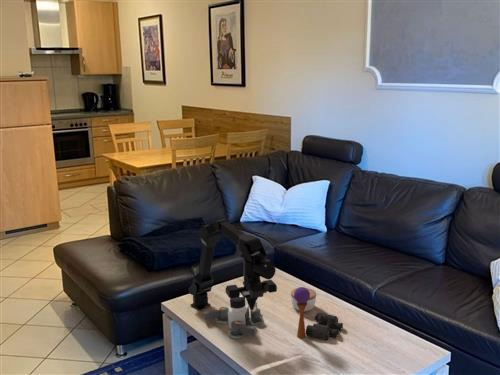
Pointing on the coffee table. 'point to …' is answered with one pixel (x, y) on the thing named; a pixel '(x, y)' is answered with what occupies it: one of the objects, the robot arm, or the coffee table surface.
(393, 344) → the coffee table surface
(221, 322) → the tribrach plate
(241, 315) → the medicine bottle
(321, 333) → the binoculars
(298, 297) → the kendama
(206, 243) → the robot arm
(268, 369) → the coffee table surface
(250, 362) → the coffee table surface
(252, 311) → the foot screw
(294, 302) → the white bowl
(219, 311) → the foot screw
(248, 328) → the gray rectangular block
